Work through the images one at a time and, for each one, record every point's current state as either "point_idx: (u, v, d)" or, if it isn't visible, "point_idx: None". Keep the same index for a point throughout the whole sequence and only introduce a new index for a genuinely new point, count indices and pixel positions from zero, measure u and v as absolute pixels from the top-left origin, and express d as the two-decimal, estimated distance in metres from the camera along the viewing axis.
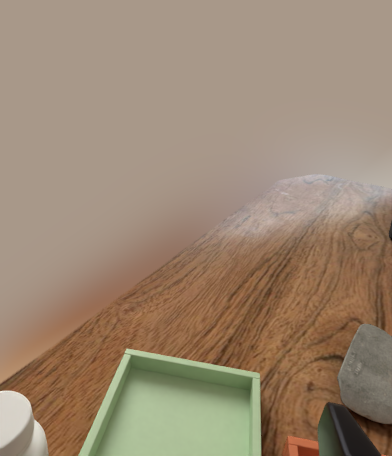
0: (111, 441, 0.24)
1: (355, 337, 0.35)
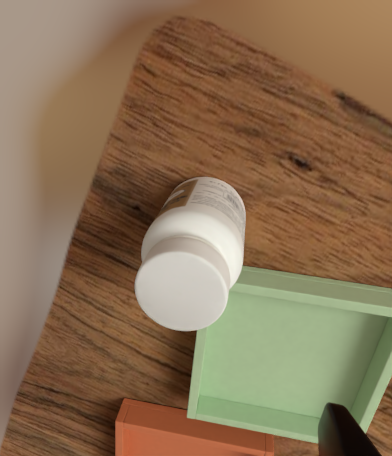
0: None
1: None
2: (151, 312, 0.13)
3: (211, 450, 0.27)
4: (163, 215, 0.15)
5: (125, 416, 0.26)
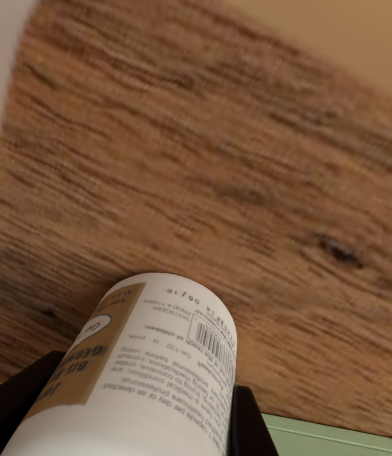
0: None
1: None
2: None
3: None
4: (32, 428, 0.06)
5: None
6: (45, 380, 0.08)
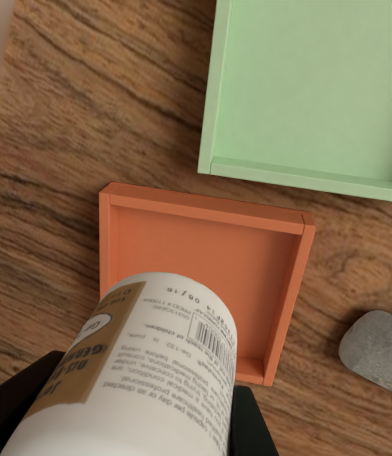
0: None
1: None
2: None
3: (226, 255, 0.21)
4: (32, 427, 0.06)
5: None
6: (45, 380, 0.08)
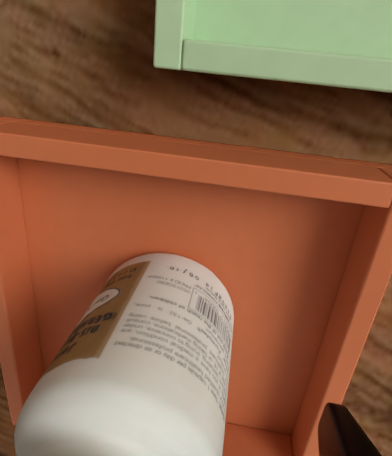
0: None
1: None
2: None
3: (225, 256, 0.11)
4: (52, 378, 0.07)
5: None
6: None
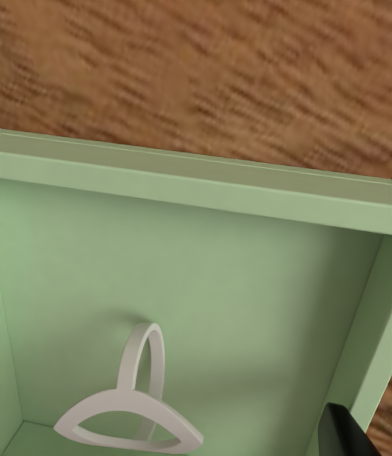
0: (117, 200, 0.09)
1: None
2: None
3: None
4: None
5: None
6: None
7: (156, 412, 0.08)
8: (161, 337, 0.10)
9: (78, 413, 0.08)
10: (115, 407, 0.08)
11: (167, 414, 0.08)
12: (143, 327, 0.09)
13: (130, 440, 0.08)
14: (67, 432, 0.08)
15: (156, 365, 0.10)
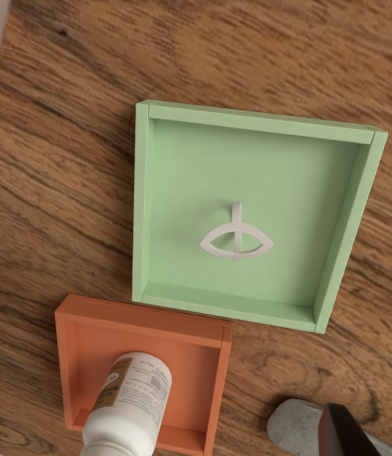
0: (226, 137, 0.18)
1: None
2: None
3: (166, 353, 0.24)
4: (96, 413, 0.20)
5: (67, 309, 0.23)
6: None
7: (252, 230, 0.17)
8: (241, 215, 0.19)
9: (213, 234, 0.17)
10: (231, 229, 0.17)
11: (257, 231, 0.16)
12: None
13: (235, 252, 0.17)
14: (206, 245, 0.17)
15: (237, 232, 0.19)
